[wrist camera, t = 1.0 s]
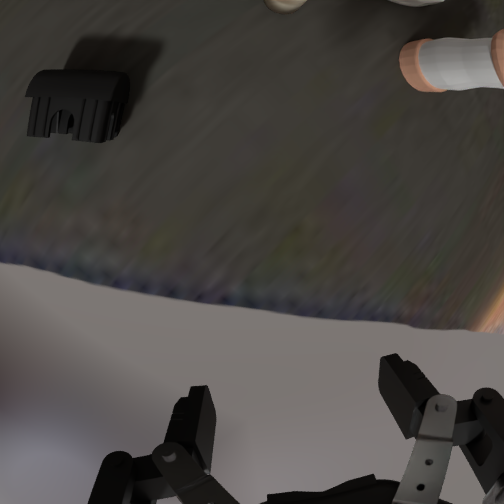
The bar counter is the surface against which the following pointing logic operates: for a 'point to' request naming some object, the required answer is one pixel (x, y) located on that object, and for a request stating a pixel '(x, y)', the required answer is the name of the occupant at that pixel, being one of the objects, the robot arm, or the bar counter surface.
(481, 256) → the bar counter surface
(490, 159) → the bar counter surface
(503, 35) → the salt shaker
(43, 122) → the end cap
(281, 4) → the bead maple
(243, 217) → the bar counter surface
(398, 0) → the tray
